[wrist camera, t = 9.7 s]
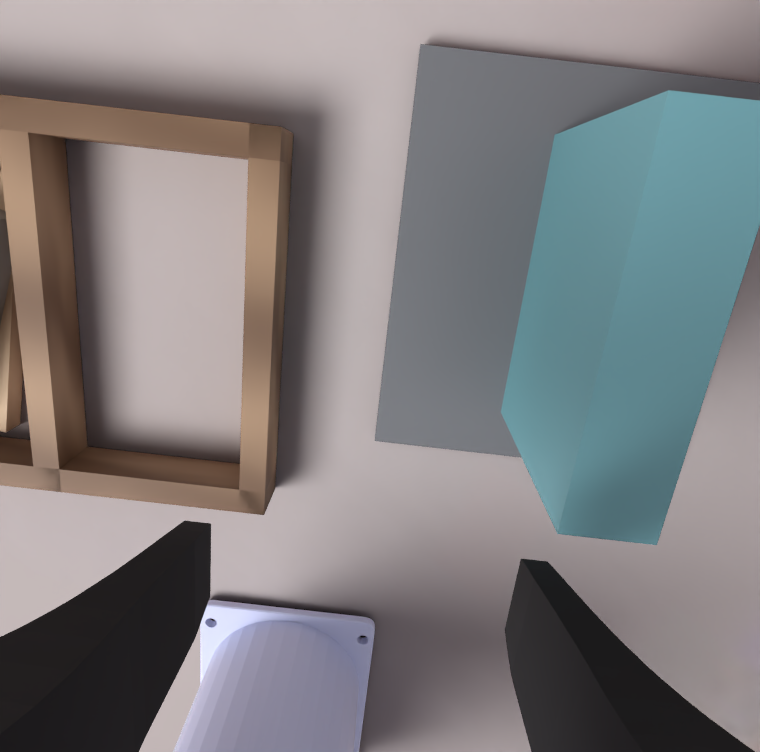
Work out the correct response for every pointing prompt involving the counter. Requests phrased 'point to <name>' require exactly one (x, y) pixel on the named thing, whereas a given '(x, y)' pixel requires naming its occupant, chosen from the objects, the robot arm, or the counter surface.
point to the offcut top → (4, 261)
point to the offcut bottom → (9, 356)
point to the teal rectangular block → (630, 305)
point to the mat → (483, 228)
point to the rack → (60, 313)
